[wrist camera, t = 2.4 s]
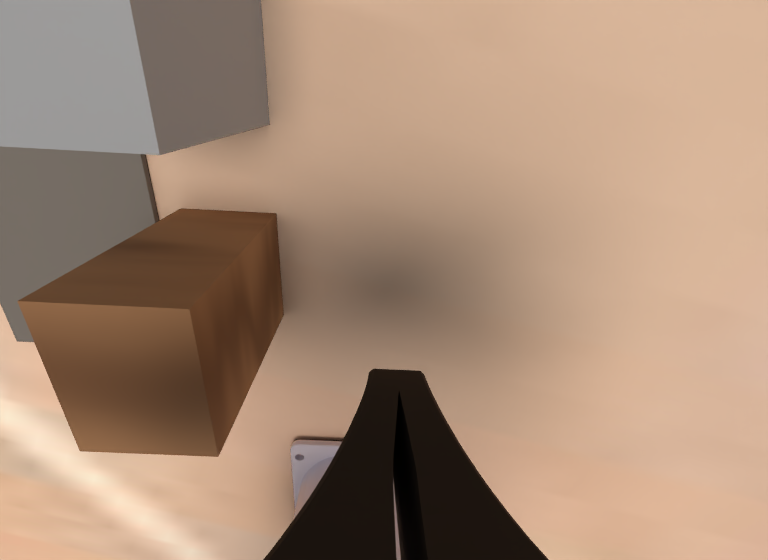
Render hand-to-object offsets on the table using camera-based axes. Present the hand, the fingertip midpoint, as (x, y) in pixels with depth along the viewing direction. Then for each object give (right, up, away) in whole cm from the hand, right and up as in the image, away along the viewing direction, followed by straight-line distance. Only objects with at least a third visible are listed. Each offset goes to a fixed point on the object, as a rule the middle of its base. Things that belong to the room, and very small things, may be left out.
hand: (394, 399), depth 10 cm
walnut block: (-7, +4, +7) cm, 11 cm away
